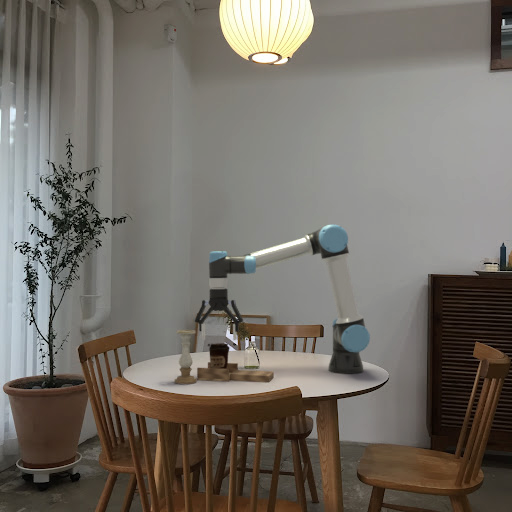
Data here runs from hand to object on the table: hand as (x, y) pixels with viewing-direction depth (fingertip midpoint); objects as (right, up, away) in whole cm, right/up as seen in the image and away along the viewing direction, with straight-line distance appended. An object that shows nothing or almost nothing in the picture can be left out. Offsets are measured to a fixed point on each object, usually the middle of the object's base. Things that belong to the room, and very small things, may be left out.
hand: (219, 339), depth 240 cm
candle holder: (-13, -16, -11) cm, 23 cm away
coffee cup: (0, -15, 0) cm, 15 cm away
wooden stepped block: (+7, -15, -2) cm, 17 cm away
